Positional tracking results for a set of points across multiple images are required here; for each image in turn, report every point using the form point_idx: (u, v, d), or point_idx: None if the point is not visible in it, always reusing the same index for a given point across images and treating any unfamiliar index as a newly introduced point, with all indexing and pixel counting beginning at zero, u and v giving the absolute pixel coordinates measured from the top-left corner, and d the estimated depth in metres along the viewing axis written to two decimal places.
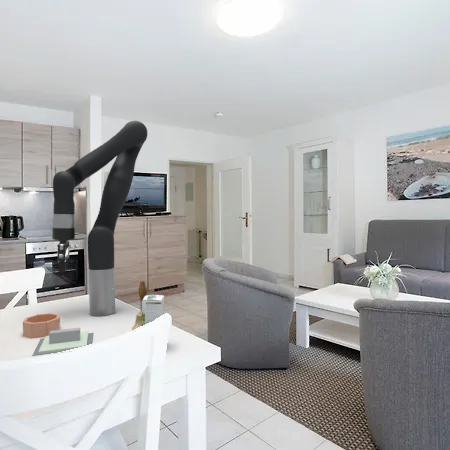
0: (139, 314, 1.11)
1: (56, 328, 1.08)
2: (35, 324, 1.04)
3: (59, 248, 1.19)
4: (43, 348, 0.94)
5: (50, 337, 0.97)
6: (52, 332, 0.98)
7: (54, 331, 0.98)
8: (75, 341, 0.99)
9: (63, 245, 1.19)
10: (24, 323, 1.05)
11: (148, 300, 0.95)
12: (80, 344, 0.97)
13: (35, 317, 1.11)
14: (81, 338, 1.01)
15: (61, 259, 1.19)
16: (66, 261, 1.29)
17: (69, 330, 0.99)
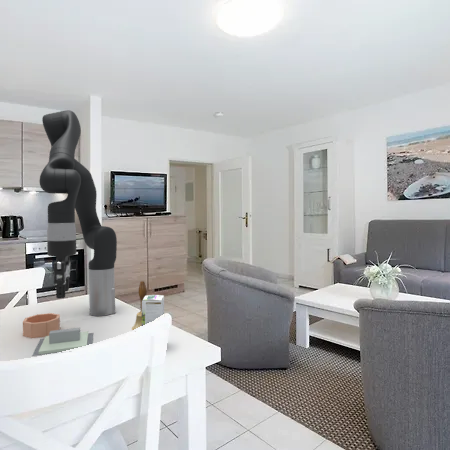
0: (139, 314, 1.11)
1: (56, 328, 1.08)
2: (35, 324, 1.04)
3: (56, 267, 0.92)
4: (43, 348, 0.94)
5: (50, 337, 0.97)
6: (52, 332, 0.98)
7: (54, 331, 0.98)
8: (75, 341, 0.99)
9: (61, 263, 0.92)
10: (24, 323, 1.05)
11: (148, 300, 0.95)
12: (80, 344, 0.97)
13: (35, 317, 1.11)
14: (81, 338, 1.01)
15: (59, 281, 0.92)
16: (66, 282, 1.03)
17: (69, 330, 0.99)
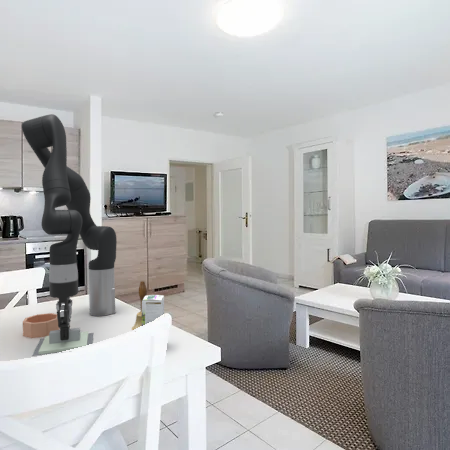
0: (139, 314, 1.11)
1: (56, 328, 1.08)
2: (35, 324, 1.04)
3: (59, 316, 0.93)
4: (43, 348, 0.94)
5: (50, 337, 0.97)
6: (52, 332, 0.98)
7: (54, 331, 0.98)
8: (75, 341, 0.99)
9: (64, 313, 0.93)
10: (24, 323, 1.05)
11: (148, 300, 0.95)
12: (80, 344, 0.97)
13: (35, 317, 1.11)
14: (81, 338, 1.01)
15: (63, 325, 0.95)
16: None
17: (69, 330, 0.99)
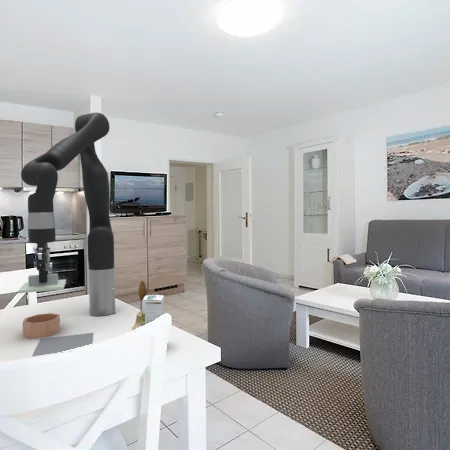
0: (139, 314, 1.11)
1: (56, 328, 1.08)
2: (35, 324, 1.04)
3: (37, 258, 1.02)
4: (22, 289, 1.02)
5: (29, 280, 1.05)
6: (31, 276, 1.06)
7: (33, 276, 1.06)
8: (53, 284, 1.07)
9: (42, 255, 1.01)
10: (24, 323, 1.05)
11: (148, 300, 0.95)
12: (57, 286, 1.05)
13: (35, 317, 1.11)
14: (59, 283, 1.10)
15: (41, 268, 1.03)
16: None
17: (47, 275, 1.08)
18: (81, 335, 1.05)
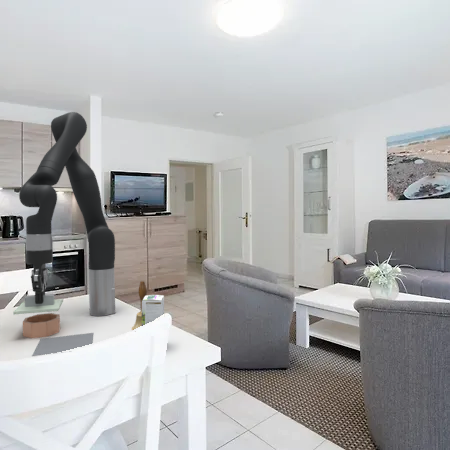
0: (139, 314, 1.11)
1: (56, 328, 1.08)
2: (35, 324, 1.04)
3: (33, 280, 1.03)
4: (18, 309, 1.03)
5: (25, 301, 1.06)
6: (28, 296, 1.07)
7: (29, 296, 1.08)
8: (48, 305, 1.08)
9: (37, 277, 1.03)
10: (24, 323, 1.05)
11: (148, 300, 0.95)
12: (53, 307, 1.06)
13: (35, 317, 1.11)
14: (55, 303, 1.11)
15: (37, 289, 1.05)
16: (43, 292, 1.10)
17: (43, 295, 1.09)
18: (81, 335, 1.05)
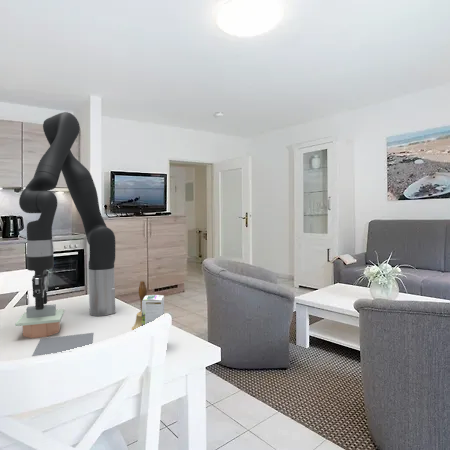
0: (139, 314, 1.11)
1: (56, 328, 1.08)
2: (35, 324, 1.04)
3: (34, 283, 1.02)
4: (20, 321, 1.03)
5: (27, 312, 1.06)
6: (29, 307, 1.07)
7: (31, 307, 1.08)
8: (50, 316, 1.08)
9: (39, 280, 1.02)
10: None
11: (148, 300, 0.95)
12: (54, 318, 1.06)
13: None
14: (57, 313, 1.11)
15: (37, 295, 1.03)
16: (45, 295, 1.12)
17: (45, 306, 1.09)
18: (81, 335, 1.05)
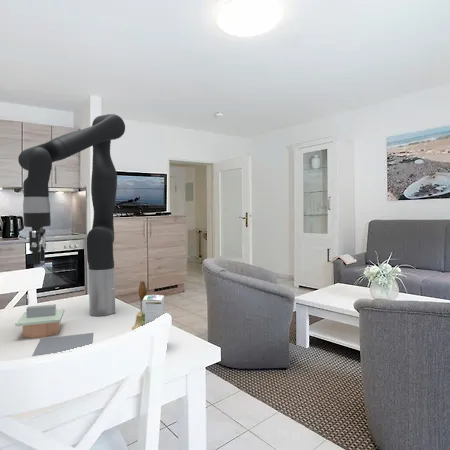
0: (139, 314, 1.11)
1: (56, 328, 1.08)
2: (35, 324, 1.04)
3: (31, 236, 1.02)
4: (20, 321, 1.03)
5: (27, 312, 1.06)
6: (29, 307, 1.07)
7: (31, 307, 1.08)
8: (50, 316, 1.08)
9: (36, 232, 1.02)
10: None
11: (148, 300, 0.95)
12: (54, 318, 1.06)
13: None
14: (57, 313, 1.11)
15: (34, 248, 1.02)
16: (42, 252, 1.13)
17: (45, 306, 1.09)
18: (81, 335, 1.05)
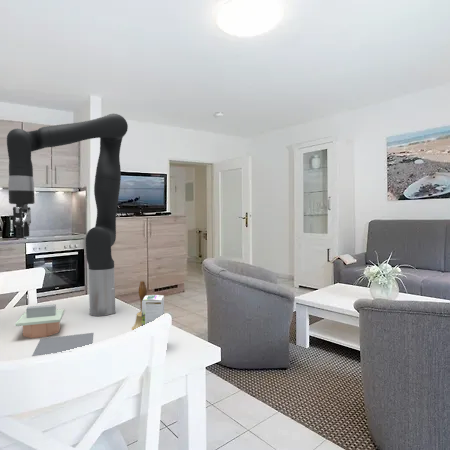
0: (139, 314, 1.11)
1: (56, 328, 1.08)
2: (35, 324, 1.04)
3: (15, 211, 1.10)
4: (20, 321, 1.03)
5: (27, 312, 1.06)
6: (29, 307, 1.07)
7: (31, 307, 1.08)
8: (50, 316, 1.08)
9: (19, 208, 1.10)
10: None
11: (148, 300, 0.95)
12: (54, 318, 1.06)
13: None
14: (57, 313, 1.11)
15: (17, 223, 1.10)
16: (27, 228, 1.21)
17: (45, 306, 1.09)
18: (81, 335, 1.05)
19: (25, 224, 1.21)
